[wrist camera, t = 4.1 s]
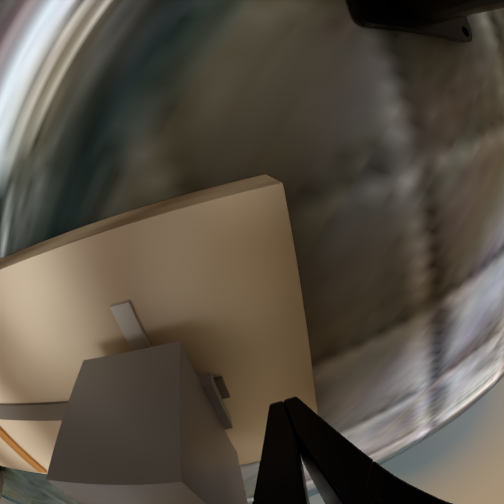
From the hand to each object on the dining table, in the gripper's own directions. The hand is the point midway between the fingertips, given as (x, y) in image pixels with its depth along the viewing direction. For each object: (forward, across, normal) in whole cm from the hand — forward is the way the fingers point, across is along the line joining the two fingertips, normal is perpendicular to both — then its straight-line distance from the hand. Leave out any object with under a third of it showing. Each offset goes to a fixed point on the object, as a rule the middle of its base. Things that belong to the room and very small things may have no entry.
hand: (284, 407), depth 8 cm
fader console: (+4, +10, 0) cm, 10 cm away
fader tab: (+1, +4, 0) cm, 4 cm away
